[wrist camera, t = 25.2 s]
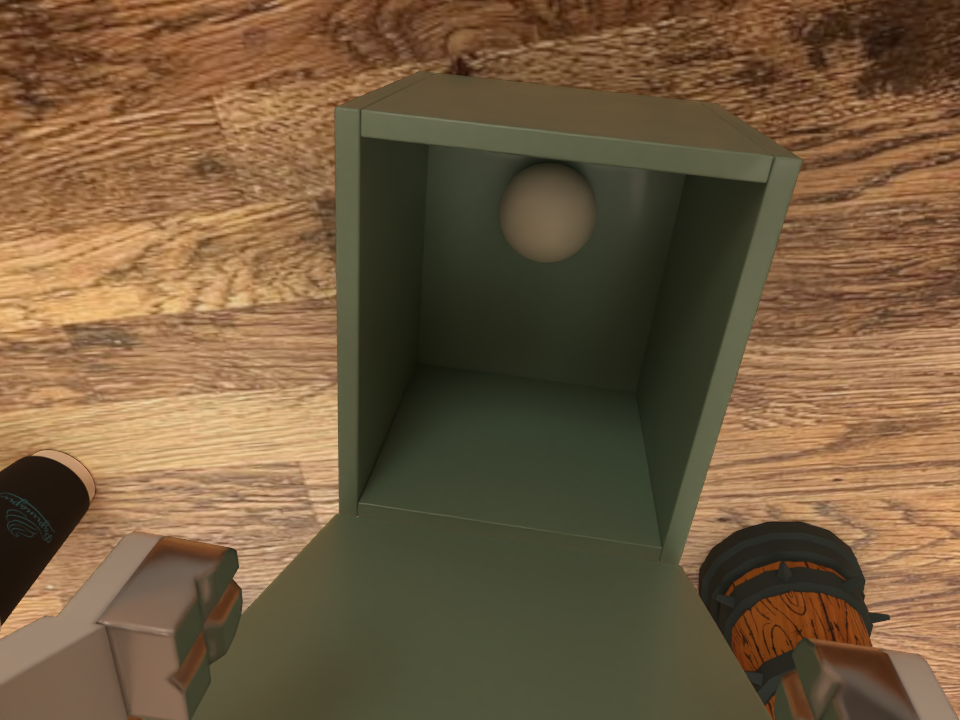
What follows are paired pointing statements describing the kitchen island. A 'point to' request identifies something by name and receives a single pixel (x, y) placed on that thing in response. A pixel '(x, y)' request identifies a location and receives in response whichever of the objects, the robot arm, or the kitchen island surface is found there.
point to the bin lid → (474, 635)
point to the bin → (544, 309)
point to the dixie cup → (37, 517)
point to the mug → (783, 597)
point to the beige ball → (547, 212)
